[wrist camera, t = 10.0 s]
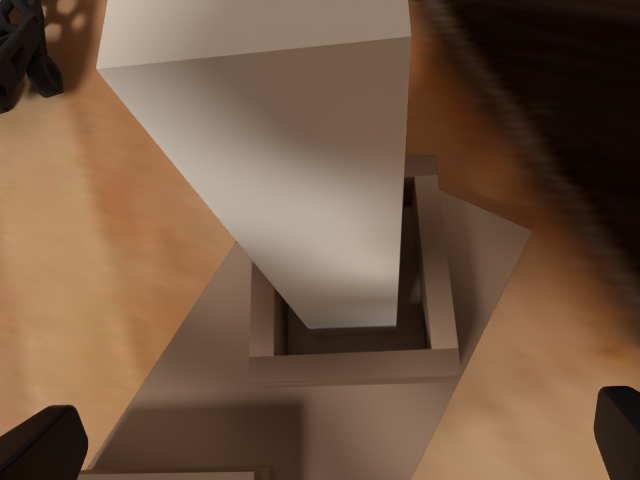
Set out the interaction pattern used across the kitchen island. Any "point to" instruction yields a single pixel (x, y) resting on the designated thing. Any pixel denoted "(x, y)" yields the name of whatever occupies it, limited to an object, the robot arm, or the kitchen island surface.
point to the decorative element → (25, 52)
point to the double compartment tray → (319, 363)
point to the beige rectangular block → (282, 135)
